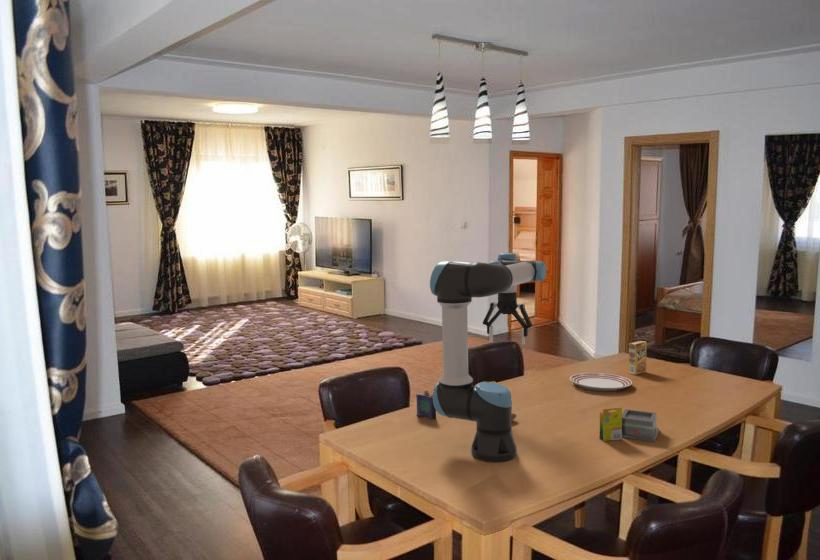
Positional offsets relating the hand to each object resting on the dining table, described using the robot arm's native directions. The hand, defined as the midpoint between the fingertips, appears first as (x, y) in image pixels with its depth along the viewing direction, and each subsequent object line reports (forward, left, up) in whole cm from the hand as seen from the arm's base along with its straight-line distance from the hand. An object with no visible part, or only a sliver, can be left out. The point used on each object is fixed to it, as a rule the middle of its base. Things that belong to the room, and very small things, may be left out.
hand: (507, 343), depth 262 cm
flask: (-23, +25, -28) cm, 44 cm away
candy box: (+79, -41, -28) cm, 93 cm away
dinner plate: (+49, -29, -28) cm, 63 cm away
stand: (-8, -53, -27) cm, 60 cm away
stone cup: (-16, 0, -28) cm, 32 cm away
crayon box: (-18, -45, -28) cm, 55 cm away
